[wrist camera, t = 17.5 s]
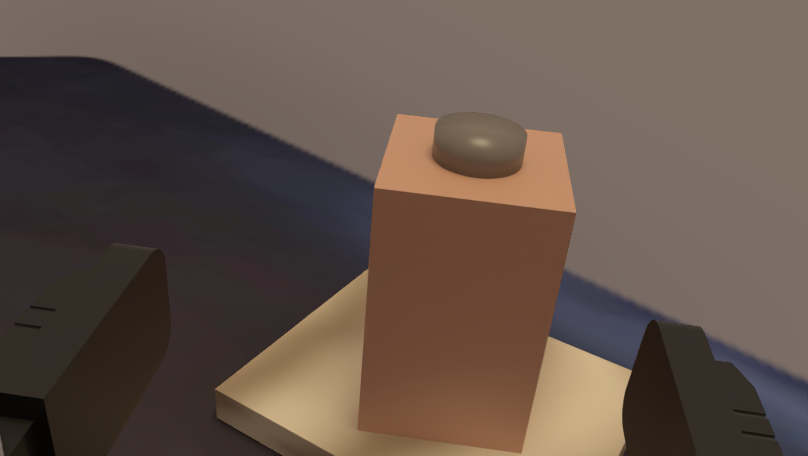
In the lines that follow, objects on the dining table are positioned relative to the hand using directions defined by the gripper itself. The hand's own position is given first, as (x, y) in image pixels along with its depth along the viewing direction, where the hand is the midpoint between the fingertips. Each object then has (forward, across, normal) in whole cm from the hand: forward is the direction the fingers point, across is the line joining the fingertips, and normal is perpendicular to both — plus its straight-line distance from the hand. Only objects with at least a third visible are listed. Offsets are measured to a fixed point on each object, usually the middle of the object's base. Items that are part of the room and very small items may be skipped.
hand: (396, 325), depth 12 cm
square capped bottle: (+13, -2, +13) cm, 18 cm away
